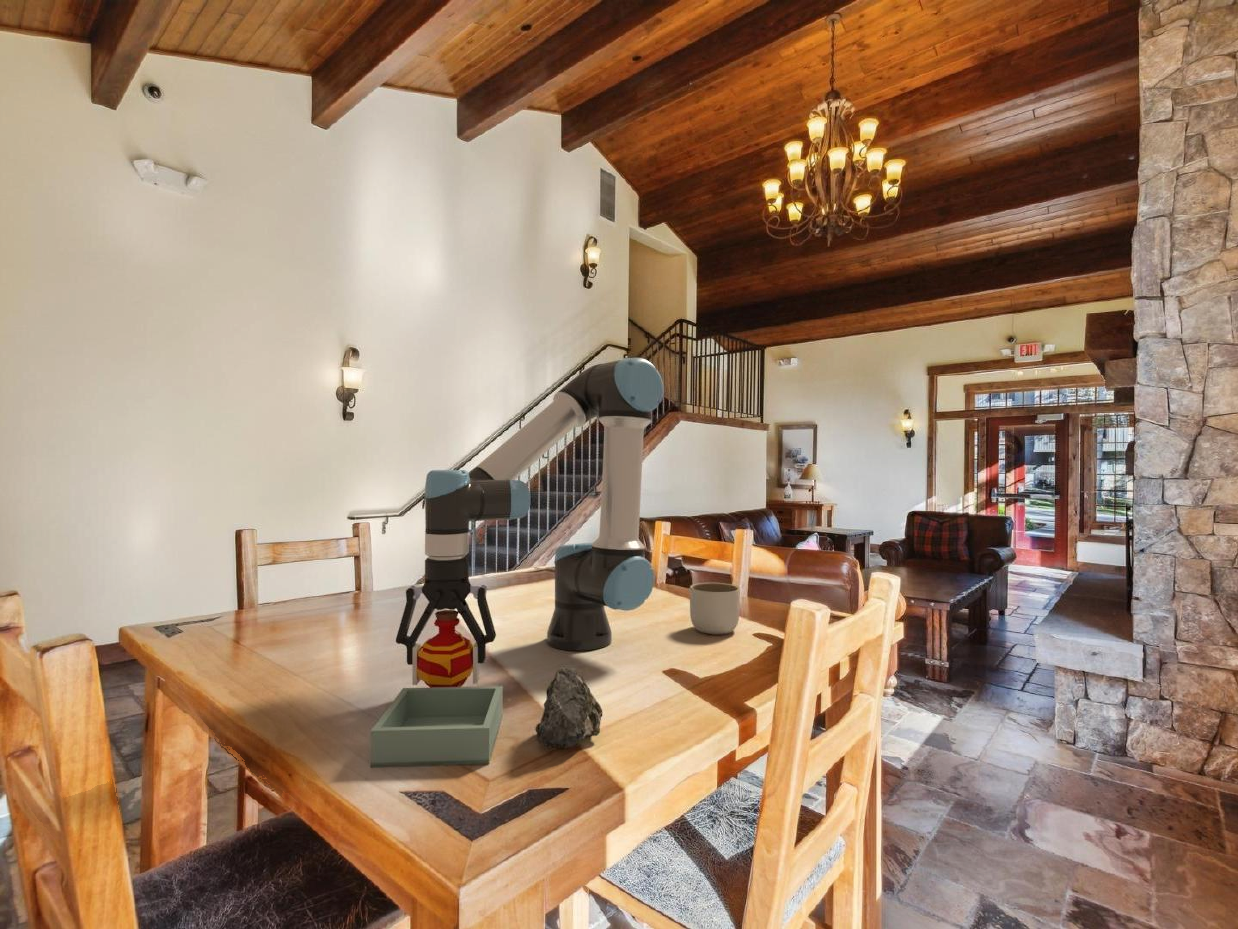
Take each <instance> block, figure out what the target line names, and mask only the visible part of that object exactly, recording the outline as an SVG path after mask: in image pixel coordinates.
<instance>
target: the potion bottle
mask: <svg viewBox="0 0 1238 929" xmlns="http://www.w3.org/2000/svg"><path fill="white" fill-rule="evenodd" d="M434 614H435V618H436V620H435V621H434V623H433V624H434V627H438V633H437V634H435V635H434V636H432V637H431V638H428V639H427V640H425V642H423V643H422V644H421V647H420V649H419V651H418V656H419V659H418V664H417V673H418V677H419V679H421V680H420V681H422V682H424V684H425V685H426V686H428V688H432V687H463V685H464V684H465V683H466V682H467V680H468V678H469V677H470V676H471V674H472V673H473V646H474V645H473V643H472V641H471V640H470V639H468V638H466V637H464V636H463V634H462V633H461V632H459V631H458V630H456V627H457V626H458V625H459V623H460V622H461V620H460V618H459V617H458V616H459V612H458V611H457V610H456V609H455V610H449V609H443V610H437V611H436V612H435V613H434Z"/></svg>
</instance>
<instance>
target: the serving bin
mask: <svg viewBox="0 0 1238 929" xmlns="http://www.w3.org/2000/svg"><path fill="white" fill-rule="evenodd" d="M503 690H504V687H503V685H494V686H489V685H488V686H461V687H432V688H430V687H403V688H402V689H401V690H400V691H399V693H398V694H397V695H396V697H395V698H394V699H393V701H392V702H391V703H390V705H388V708H386V710H385V712H384V713H383V714H382V715H381V717H380V718H379V719H378V720H377V722H376V723H375V724H374V726H373V727H372V728H371V730H370V766H369V767H370V768H390V767H391V768H394V767H395V768H396V767H431V766H462V765H463V766H465V765H469V766H470V765H489V764H490V761H491V758H492V755H493V751H494V747H495V745H496V740H497V736H498V733H499V731H500V730H499V729H500V727H501V723H502V719H503V711H504V710H503V702H504V700H503V696H504V695H503V692H504V691H503Z"/></svg>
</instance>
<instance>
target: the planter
mask: <svg viewBox="0 0 1238 929" xmlns="http://www.w3.org/2000/svg"><path fill="white" fill-rule="evenodd" d="M740 599H741V588H740V587H739V586H738V585H735V584H731V583H723V582H698V583H693V584H691V585H689V614H690V621H691V623H692V625H693V627H694V628H695V629H696V630H697V631H698V632H700V633H703V634H706V635H716V636H717V635H719V636H720V635H726V634H730V633H732V632H733V631H734V630H735V629H736V628H737V625H738V622H739V620H740V610H741V608H740V604H741V602H740V601H741V600H740Z"/></svg>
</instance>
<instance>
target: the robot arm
mask: <svg viewBox="0 0 1238 929" xmlns="http://www.w3.org/2000/svg"><path fill="white" fill-rule="evenodd" d="M664 389H665V388H664V382H663V378H662V376H661V374H660V372H659V370H657V369H656V366H655V365H654V364H653V363H652V362H650V361H649V360H647V359H646V358H642V357H630V358H629V357H625V358H621V359H618V360H613V361H610V362H609V361H608V362H605V363H598V364H594V365H592V366H590V367H588V368H586V369H585V370H583V371H582V372H581V373H579V374H578V375H577V376H575V377H574V378H573V379H572V380H569V382H568V383H567V384H565V385H564V386H563V387H562V388H561V389H560V390H558V391H557V392H556V393H555V394H554V395H553V396H552V397H553V398H552V400H553V401H552V402H551V403H550V404H548V405H547V407H545V408H544V409H543V410H541V411H540V412H539V413H538V414H537V415H536V416H534V417H533V418H532V419H531V420H530V421H529V422H527V423H526V424H525V425H524V426H523V427H521V428H520V429H519V430H518V431H517V432H516V433H515V434H513V435H512V436H510V437H509V438H508V439H507V440H505V442H504V443H502V444H501V445H500V446H499V447H497V449H495V450H494V451H492V452H491V453H490V454H489V455H487V457H485V459H484V460H482V461H481V462H480V463H478V464H477V465H476V466H475V467H474V468H473V469H471V470H470V471H469V472H468V471H467V470H462V469H433V470H430V471H428V472H427V474H426V477H425V486H424V487H425V488H424V504H425V506H424V510H425V511H424V514H425V517H424V519H425V521H424V522H425V529H424V530H425V531H424V554H425V556H427V558H426V559H425V560H424V584H423V585H422V586H415V585H411V586H410V587H408V588H407V589H406V590H405V598H406V600H405V601H406V603H405V607H404V610H403V613H402V616H401V620H400V623H399V628H398V631H397V634H396V637H395V643H396V644H398V645H400V644H402V645H403V646H405V647H406V663H407V665H408V666H410V665H412V678H411V679H412V681H411V682H412V686H417V685H418V684H419V683H420V681H422V680H421V679H419V677H418V673H417V664H418V659H419V656H418V651H419V649H420V647H421V646H422V644H421V643H417V641H418V639H419V638H420V636H421V634H422V632H423V630H424V628H426V626H427V624H428V622H429V620H430V618H431V617H432V615H433V613H434V611H435V610H437V611H443V610H455V611H458V612H459V613H458V615H460V616H461V617H462V620H463V621H464V623H465V625H466V626H467V629H468V630H469V632H470V633H471V635H472V637H473V639H474V640H475V642H474V645H473V669H472V684H473V685H474V684H475V685H476V684H478V683H479V680H480V666H481V665H480V664H484V662H485V660H486V658H487V656H486V654H487V653H486V647H487V646H486V645H487V644H489V643H493V642H494V641H495V639H496V637H497V632H496V630H495V626H494V623H493V619H492V614H491V612H490V608H489V605H488V601H487V589H488V588H487V586H486V585H484V584H483V585H480V586H474V585H472V584H471V583H470V579H469V577H470V575H469V574H470V572H469V571H470V569H469V568H470V566H469V565H470V558H469V557H468V556H467V555H468V554H469V553H470V545H469V544H470V539H469V538H470V527H469V526H470V522H481V521H482V522H484V521H485V522H486V521H506V520H508V521H511V520H516V519H522V518H524V517H526V515H527V514H528V512H529V511H530V507H531V491H530V488H529V487H528V485H527V484H526V483H525V482H524V481H522V480H520V479H519V480H518V479H517V478H519V477H520V476H521V475H522V474H523V473H524V472H526V471H527V470H528V469H529V468H531V466H532V465H534V464H535V463H536V462H537V461H538V460H539V459H540V458H542V456H544V455H545V454H546V453H548V451H549V450H550V449H552V448H553V447H554V446H555V445H556V444H558V442H559V441H561V440H562V439H563V438H564V437H565V436H566V435H568V434H569V432H571V431H572V430H573V429H574V428H575V427H576V428H581V427H582V428H583V426H584V425H585V424H586V423H588V422H589V421H590V420H592V419H595V418H597V419H598V421H599V422H600V423H601V424H602V425H603V427H604V438H603V440H604V442H603V457H602V475H601V476H602V477H601V478H602V479H601V497H600V498H601V499H600V513H599V514H600V516H599V534H598V538H597V539H596V540H595V541H593V542H583V543H571V544H569V543H568V544H562V545H558V546H557V547H556V550H555V554H554V561H553V562H554V610H553V613H552V617H551V620H550V623H549V624H548V629H547V632H546V643H547V645H549V646H551V647H552V648H556V649H559V650H566V651H593V650H597V649H602V648H604V647H607V646H609V645H610V644H611V643H612V640H613V639H612V635H613V634H612V629H611V628H612V627H611V626H610V622H609V618H608V617H607V612H606V610H605V607H608V609H611V610H612V609H613V610H616V611H617V610H620V611H625V612H628V611H633V610H637V609H638V608H639V607H641V606H642V605H643V604H644V603H645V601H647V600H648V599H649V597H650V596H651V593H652V591H653V589H654V585H655V578H656V577H655V576H656V575H655V570H654V567H653V566H652V564H651V562H650V561H649V560H648V559H647V558H645V557H646V556H645V555H646V554H645V553H646V545H644V544H643V543H642V541H641V540H640V539H639V538H640V536H639V535H640V534H639V532H640V517H641V515H640V514H641V498H642V497H641V494H642V493H641V491H642V472H643V456H644V455H643V454H644V434H645V432H644V430H646V428H647V427H648V426H649V425H650V424H651V423H652V414H653V413H652V411H654V410H655V409H657V407H659V404H661V402H662V401H663V398H664ZM470 593H471V594H472V595H473V598H474V599H475V600H477V601H476V602H477V606H478V610H479V614H480V618H481V622H482V625H483V628H484V631H483V630H482V629H481V627H480V625H479V623H478V622H477V620H476V618H475V617H474V616H475V615H473V613H472V610H471V609H470V607H469V604H468V603H467V600H466V599H467V597H468V596H469V594H470ZM421 594H423V596H424V597H425V598H426V600H427V601H428V603H427V605H426V607H425V609H424V611H423V612H422V614H421V616H420V618H419V620H418V622H417V623H416V625H415V627H414V629H413V631H412V632H411V634H410V635H408V634H409V633H408V632H409V630H410V626H411V622H412V619H413V616H414V612H415V608H416V606H417V604H416V603H417V600H418V599H420V597H421ZM484 632H485V634H484Z"/></svg>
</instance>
